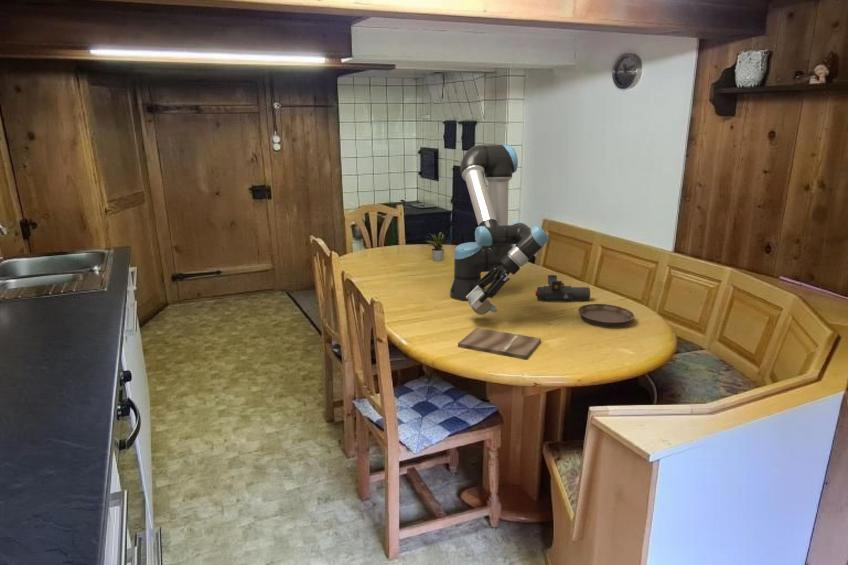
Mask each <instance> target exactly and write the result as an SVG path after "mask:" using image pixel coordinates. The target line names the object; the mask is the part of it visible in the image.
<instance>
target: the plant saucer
mask: <svg viewBox="0 0 848 565" xmlns="http://www.w3.org/2000/svg"><path fill="white" fill-rule="evenodd" d="M577 311H578V312H577V313H578V314H579V316H580V317H581V318H582V319H583V320H584V321H585V322H587V323H589V324H591V325H593V326H599V327H605V328H617V327H623V326H626V325H628V324H629V323H631V322H632V321H633V319H634V318H635V314H634V313H633V312H632V311H631V310H629V309H627V308H625V307H622V306H618V305H613V304H606V303H605V304H604V303H588V304H584V305H582V306H579V308H577Z"/></svg>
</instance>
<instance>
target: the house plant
mask: <svg viewBox="0 0 848 565" xmlns="http://www.w3.org/2000/svg"><path fill="white" fill-rule="evenodd" d="M428 234H429V235H430V236H431V237H430V236H428V235H427V238H429V239H430V240H426V242H427V244H428V245H427V247H428V246H429V248H430V247H433V248H432V249H431V253H432V254H431V255H432V259H433V261H434V262H443V259H444V253H445V246H444V245H445V244H446V242H444V241H445V240H446V238H448V236H447V237H445V235H444V234H442V232H441V231H440V232H438V235H436V234H435V233H433V234H432V233H430V232H429V233H428Z"/></svg>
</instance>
